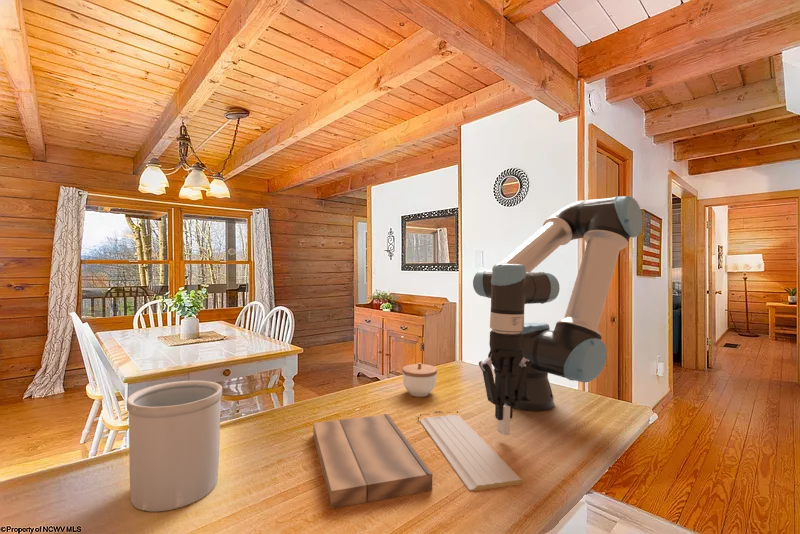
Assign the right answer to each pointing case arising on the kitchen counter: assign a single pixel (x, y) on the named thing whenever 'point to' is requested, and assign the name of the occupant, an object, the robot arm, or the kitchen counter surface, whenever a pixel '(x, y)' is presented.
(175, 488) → the utensil holder
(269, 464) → the kitchen counter surface
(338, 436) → the grooved tan panel
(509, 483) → the baseboard molding
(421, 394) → the lidded jar
